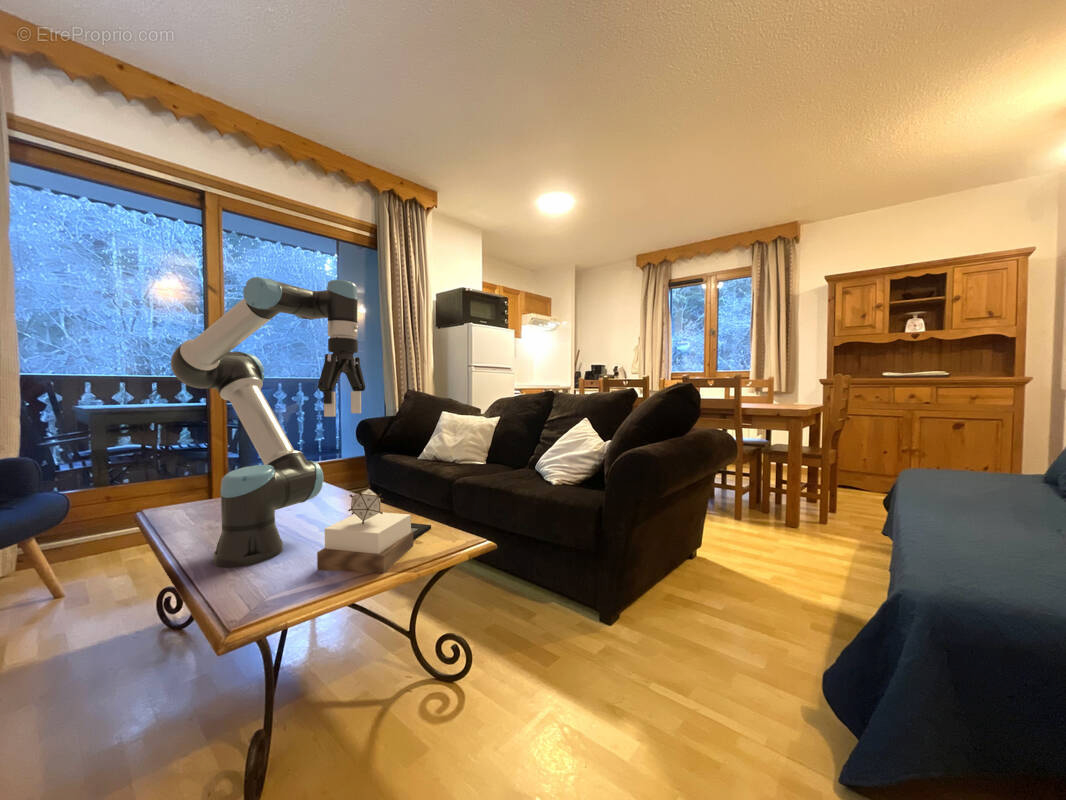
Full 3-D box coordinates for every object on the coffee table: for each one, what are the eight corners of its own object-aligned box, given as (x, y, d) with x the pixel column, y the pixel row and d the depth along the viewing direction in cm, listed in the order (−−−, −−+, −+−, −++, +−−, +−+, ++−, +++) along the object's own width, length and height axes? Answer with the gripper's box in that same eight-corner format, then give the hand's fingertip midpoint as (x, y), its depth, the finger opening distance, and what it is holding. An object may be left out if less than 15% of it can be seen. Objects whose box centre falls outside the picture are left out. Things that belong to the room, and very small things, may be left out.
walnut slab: (317, 572, 100) (317, 552, 100) (355, 545, 117) (355, 528, 117) (383, 576, 98) (383, 555, 98) (413, 548, 115) (413, 531, 115)
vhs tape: (382, 545, 117) (382, 538, 117) (409, 529, 131) (409, 522, 131) (405, 548, 115) (405, 541, 115) (431, 531, 129) (431, 525, 129)
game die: (382, 530, 105) (369, 506, 99) (350, 531, 106) (335, 506, 100) (393, 502, 112) (381, 477, 106) (363, 502, 113) (350, 478, 107)
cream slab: (324, 548, 102) (324, 528, 102) (363, 528, 117) (362, 510, 117) (378, 554, 99) (378, 533, 99) (410, 532, 113) (410, 514, 113)
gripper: (330, 332, 102) (331, 418, 102) (376, 343, 126) (377, 412, 127) (301, 332, 102) (302, 417, 103) (353, 343, 127) (353, 412, 128)
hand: (343, 414), depth 115 cm, fingers open, 13 cm apart
